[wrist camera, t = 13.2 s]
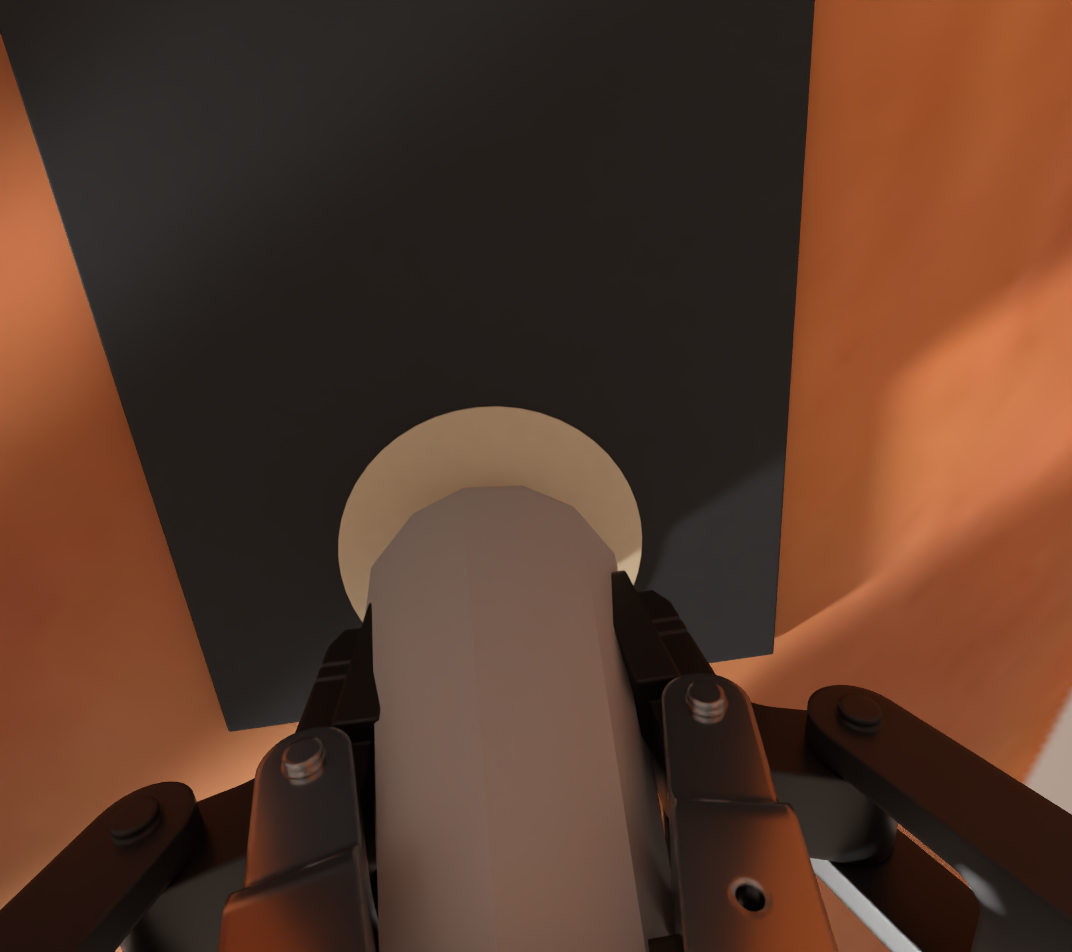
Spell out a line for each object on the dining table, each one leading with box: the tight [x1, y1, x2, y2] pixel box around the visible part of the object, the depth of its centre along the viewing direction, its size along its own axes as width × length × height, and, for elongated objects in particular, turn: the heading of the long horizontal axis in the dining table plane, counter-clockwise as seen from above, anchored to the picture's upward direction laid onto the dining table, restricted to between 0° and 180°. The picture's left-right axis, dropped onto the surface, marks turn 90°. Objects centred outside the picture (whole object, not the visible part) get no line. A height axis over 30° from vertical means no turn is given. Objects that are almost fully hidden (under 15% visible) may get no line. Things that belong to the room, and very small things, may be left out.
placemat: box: [0, 0, 815, 732], centre depth 12 cm, size 16×30×1 cm, turn 5°
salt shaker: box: [365, 485, 674, 952], centre depth 9 cm, size 6×6×13 cm
